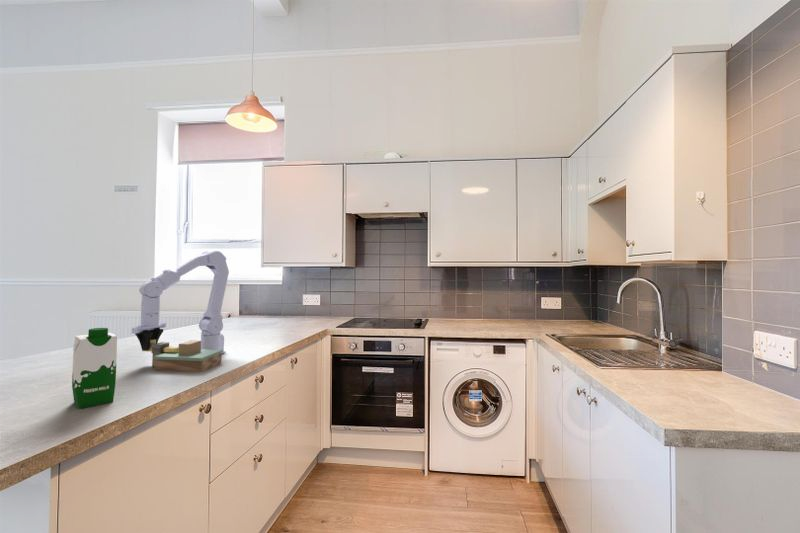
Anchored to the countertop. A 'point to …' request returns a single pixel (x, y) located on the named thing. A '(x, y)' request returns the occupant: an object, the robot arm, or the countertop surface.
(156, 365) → the wooden box
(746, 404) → the countertop surface
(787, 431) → the countertop surface
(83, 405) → the milk carton
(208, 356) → the lid
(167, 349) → the wooden block
